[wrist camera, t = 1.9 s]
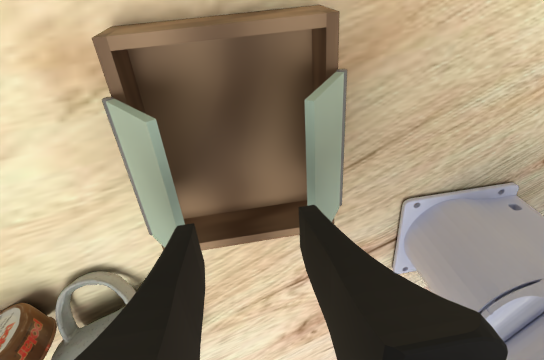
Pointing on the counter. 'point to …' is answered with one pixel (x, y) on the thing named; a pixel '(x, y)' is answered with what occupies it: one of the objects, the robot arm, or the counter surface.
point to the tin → (25, 333)
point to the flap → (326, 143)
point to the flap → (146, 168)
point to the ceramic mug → (83, 337)
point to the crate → (228, 110)
